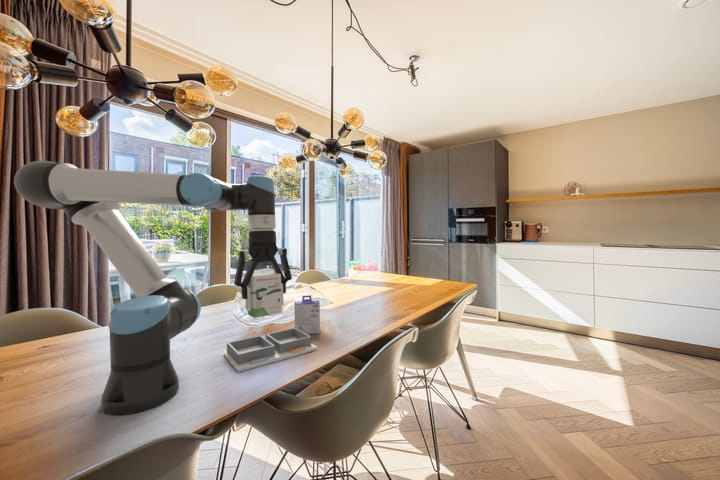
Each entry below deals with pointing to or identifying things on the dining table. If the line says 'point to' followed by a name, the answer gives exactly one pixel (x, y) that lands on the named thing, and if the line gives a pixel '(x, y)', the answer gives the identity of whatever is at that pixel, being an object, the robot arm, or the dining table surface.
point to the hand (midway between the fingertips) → (265, 307)
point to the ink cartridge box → (307, 315)
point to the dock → (267, 348)
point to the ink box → (265, 294)
